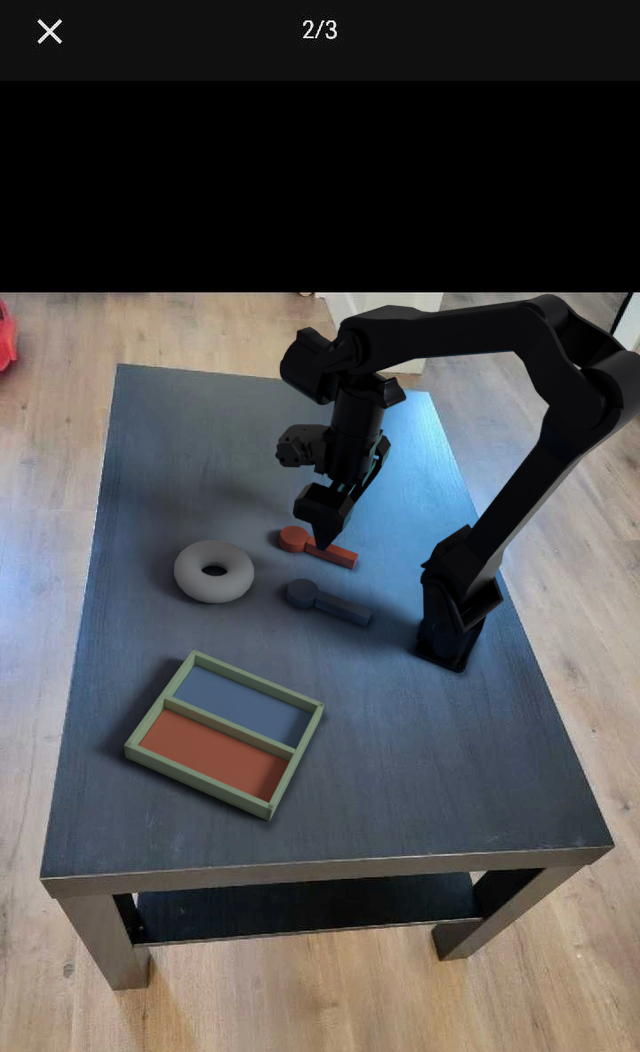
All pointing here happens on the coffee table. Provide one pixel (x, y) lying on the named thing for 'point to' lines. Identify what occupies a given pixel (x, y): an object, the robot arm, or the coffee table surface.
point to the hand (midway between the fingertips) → (333, 529)
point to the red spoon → (314, 547)
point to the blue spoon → (325, 601)
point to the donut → (213, 586)
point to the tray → (226, 733)
